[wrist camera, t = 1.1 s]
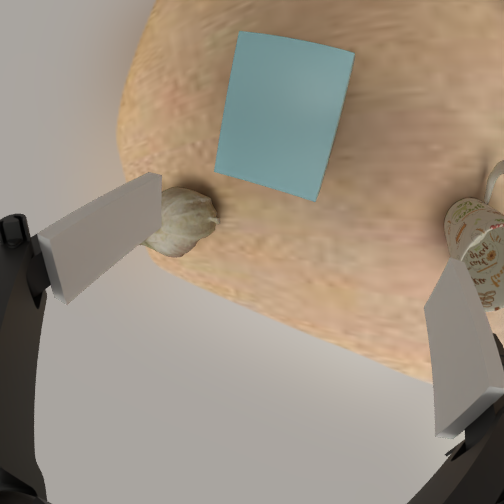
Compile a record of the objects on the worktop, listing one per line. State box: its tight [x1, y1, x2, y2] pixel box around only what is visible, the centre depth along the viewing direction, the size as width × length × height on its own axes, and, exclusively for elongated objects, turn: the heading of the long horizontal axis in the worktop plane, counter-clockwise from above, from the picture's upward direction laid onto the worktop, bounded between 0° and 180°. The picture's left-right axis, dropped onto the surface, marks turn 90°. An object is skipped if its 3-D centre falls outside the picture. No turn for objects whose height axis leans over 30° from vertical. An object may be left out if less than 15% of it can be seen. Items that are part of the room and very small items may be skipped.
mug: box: [444, 160, 504, 312], centre depth 22 cm, size 8×13×10 cm, turn 178°
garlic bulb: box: [139, 187, 220, 257], centre depth 34 cm, size 9×8×10 cm
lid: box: [214, 31, 355, 202], centre depth 23 cm, size 13×9×3 cm
